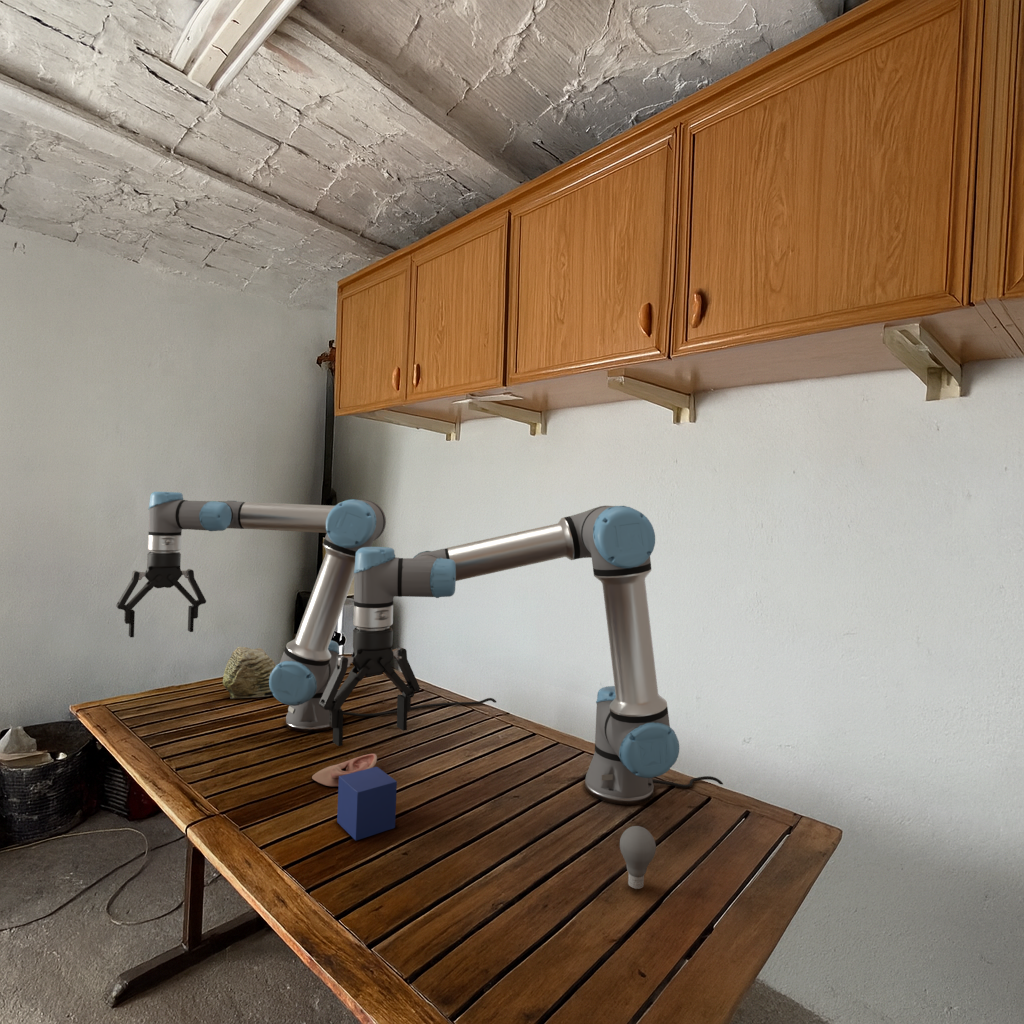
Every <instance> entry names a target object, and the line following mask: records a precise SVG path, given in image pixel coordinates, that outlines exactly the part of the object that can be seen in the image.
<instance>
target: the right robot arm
mask: <svg viewBox="0 0 1024 1024" xmlns="http://www.w3.org/2000/svg"><path fill="white" fill-rule="evenodd" d="M655 545H656V532H655V529H654V526H653V524H652V523H651V521H650V520H649V518H648V517H647V516H646V515H645V514H644V513H643V512H641V511H639V510H637V509H635V508H634V507H631V506H628V505H599V506H597V507H594V508H591V509H588V510H585V511H582V512H580V513H576V514H572V515H569V516H564V517H561V518H560V519H559V521H558V523H554V524H553V523H552V524H550V525H545V526H540V527H536V528H531V529H526V530H522V531H517V532H513V533H512V532H511V533H508V534H504V535H499V536H495V537H490V538H485V539H481V540H476V541H472V542H467V543H463V544H458V545H454V546H449V547H446V548H440V549H435V550H425V551H421V552H418V553H417V554H415V555H414V556H413V557H412V558H411V557H406V558H404V557H396V554H395V553H396V552H395V549H394V548H393V547H389V546H388V547H387V546H371V547H363V548H360V549H359V550H358V551H357V552H356V556H355V570H354V578H353V617H352V622H353V623H352V625H353V626H354V629H353V630H352V654H351V655H346V656H345V655H342V654H339V655H338V656H337V660H336V667H335V669H334V671H333V674H332V676H331V678H330V680H329V682H328V684H327V687H326V689H325V691H324V693H323V695H322V697H321V699H320V702H319V706H321V707H322V708H324V709H325V710H329V726H330V727H332V728H333V729H332V743H333V744H335V745H336V746H338V747H342V746H344V745H343V744H344V743H343V742H344V715H343V712H344V710H343V709H342V706H343V705H344V703H345V702H346V701H347V699H348V698H349V696H351V693H352V692H353V691H354V689H355V688H356V687H357V685H358V683H359V682H361V681H363V679H364V678H365V677H366V678H370V677H373V676H381V675H383V673H384V674H385V676H386V677H387V678H388V679H389V680H390V681H391V683H392V684H393V685H394V686H395V687H396V689H398V692H400V693H401V694H397V695H396V697H397V699H396V700H397V701H396V702H397V703H396V704H397V706H396V710H397V713H396V728H397V729H400V730H401V731H403V732H404V731H407V730H408V713H410V712H411V710H410V709H411V707H412V706H411V705H412V698H413V697H414V696H415V693H416V692H417V693H418V692H420V691H421V686H420V685H419V681H418V679H417V678H416V676H415V673H414V671H413V668H412V666H411V664H410V662H409V660H408V653H407V648H404V647H401V646H398V645H397V646H396V647H395V648H394V649H393V648H392V646H393V638H394V636H393V635H394V629H393V628H392V625H393V624H394V597H398V598H401V597H405V598H406V597H410V598H411V597H412V598H436V599H440V598H450V597H453V596H454V595H455V593H456V583H457V582H458V581H462V580H468V579H471V578H476V577H481V576H485V575H490V574H494V573H500V572H504V571H508V570H513V569H517V568H523V567H526V566H531V565H536V564H540V563H546V562H549V561H554V560H559V559H562V558H567V559H568V560H570V561H574V560H575V561H576V560H579V559H587V558H589V559H591V564H592V571H593V577H595V578H596V579H597V580H598V581H599V582H601V585H602V591H603V592H602V593H603V600H604V609H605V618H606V627H607V635H608V643H609V651H610V659H611V667H612V676H613V683H614V685H609V686H604V687H601V688H599V690H598V691H597V696H596V697H597V698H596V701H595V703H596V712H595V733H594V737H595V738H594V753H593V756H592V757H591V761H590V764H589V767H588V768H587V772H586V775H585V778H584V787H585V790H586V791H587V792H588V793H589V794H590V795H591V796H592V797H594V798H596V799H598V800H600V801H603V802H606V803H610V804H615V805H621V806H622V805H623V806H627V805H628V806H631V805H632V806H633V805H640V804H644V803H647V802H648V801H650V800H651V799H653V796H654V784H659V785H664V786H665V785H666V786H670V787H677V788H682V789H690V788H691V787H692V786H693V784H694V783H695V782H699V781H706V780H708V781H709V780H710V781H714V782H717V783H718V784H719V785H724V783H723V782H722V781H721V780H720V779H719V778H718V777H716V776H711V775H706V776H705V775H704V776H699V777H693V778H691V779H690V780H689V783H688V784H684V783H683V784H682V783H676V782H672V781H665V780H659V779H654V778H657V777H658V778H659V777H660V776H662V775H665V774H666V773H668V771H670V770H671V768H672V767H673V766H674V765H675V764H676V762H677V761H678V758H679V754H680V742H679V741H680V740H679V738H678V736H677V734H676V732H675V730H674V729H673V728H672V727H671V725H670V717H669V715H670V714H669V708H668V701H667V700H666V699H665V698H664V697H662V696H661V695H660V694H659V689H658V687H659V686H658V679H657V671H656V670H657V669H656V662H655V655H654V647H653V644H654V643H653V637H652V627H651V619H650V611H649V603H648V593H647V584H646V578H647V577H648V575H649V574H650V573H651V572H652V561H651V555H652V554H653V552H654V550H655ZM393 658H394V659H395V660H396V663H397V664H398V667H399V669H400V671H401V673H402V676H403V677H404V680H405V681H404V680H403V679H402V678H401V677H400V676H399V675H398V673H397V672H396V671H395V669H394V668H393V666H392V665H391V664H390V663H391V662H392V660H393ZM351 664H352V665H353V667H352V668H351V670H350V671H349V672H348V676H347V677H346V679H345V680H344V678H345V676H346V673H347V670H348V668H350V666H351ZM343 680H344V681H343ZM405 682H406V683H405ZM340 707H341V709H342V710H341V709H340Z"/></svg>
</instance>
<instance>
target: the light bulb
mask: <svg viewBox="0 0 1024 1024" xmlns="http://www.w3.org/2000/svg"><path fill="white" fill-rule="evenodd" d="M619 851H620V854H621V855H622V858H623V859H624V862H625V863H626V870H627V873H628V875H627V877H628V878H627V884H628V886H629V887H630V888H632V889H635V890H640V889H642V888H644V885H645V875H646V873H647V870H648V867H649V865H650V863H651V862H652V861H653V859H654V857H655V855H656V852H657V844H656V840H655V839H654V836H653V835H652V833H651V832H650V830H648V829H647V828H645V827H643V826H640V825H632V826H630V827H627V828H626V829H625V830H624V831H623V832H622V834H621V835H620V838H619Z"/></svg>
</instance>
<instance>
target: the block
mask: <svg viewBox="0 0 1024 1024" xmlns="http://www.w3.org/2000/svg"><path fill="white" fill-rule="evenodd" d="M337 787H338V789H337V814H336V815H337V816H336V822H337V824H339V826H340V827H341V828H342V829H343V830H344V831H345V832H346V833H347V834H348V835H349V836H350V837H351V838H352V839H353V840H354V841H361V840H363V839H365V838H368V837H369V838H370V837H372V836H375V835H377V834H381V833H384V832H387V831H389V830H394V829H395V828H396V816H397V814H396V813H397V812H396V811H397V792H398V791H397V788H398V781H397V780H395V779H394V778H393V777H392V776H391V775H389V774H388V773H386V772H385V771H384V770H383V769H381V768H380V767H378V766H374V767H373V768H369V769H365V770H361V771H358V772H354V773H350V774H346V775H342V776H339V786H337Z"/></svg>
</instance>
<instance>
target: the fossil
mask: <svg viewBox="0 0 1024 1024" xmlns="http://www.w3.org/2000/svg"><path fill="white" fill-rule="evenodd" d="M276 665H277V664H276V663H275V662H274V660H273V659H272V658H271V657H270V656H269V655H268V654H267V653H266V652H265V650H264V649H263V648H260V647H258V648H251V647H247V646H246V647H245V646H238V647H237V648H236V649H235V650H233V651H232V653H231V656H230V657H229V659H228V660H227V663H226V666H225V668H224V671H223V675H222V676H223V677H222V685H223V687H224V688H225V690H226V691H228V693H229V698H230V699H250V698H264V697H271V696H273V694H272V692H271V690H270V687H269V677H270V674H271V672H272V671H273V669H274V668H275V667H276Z"/></svg>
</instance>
